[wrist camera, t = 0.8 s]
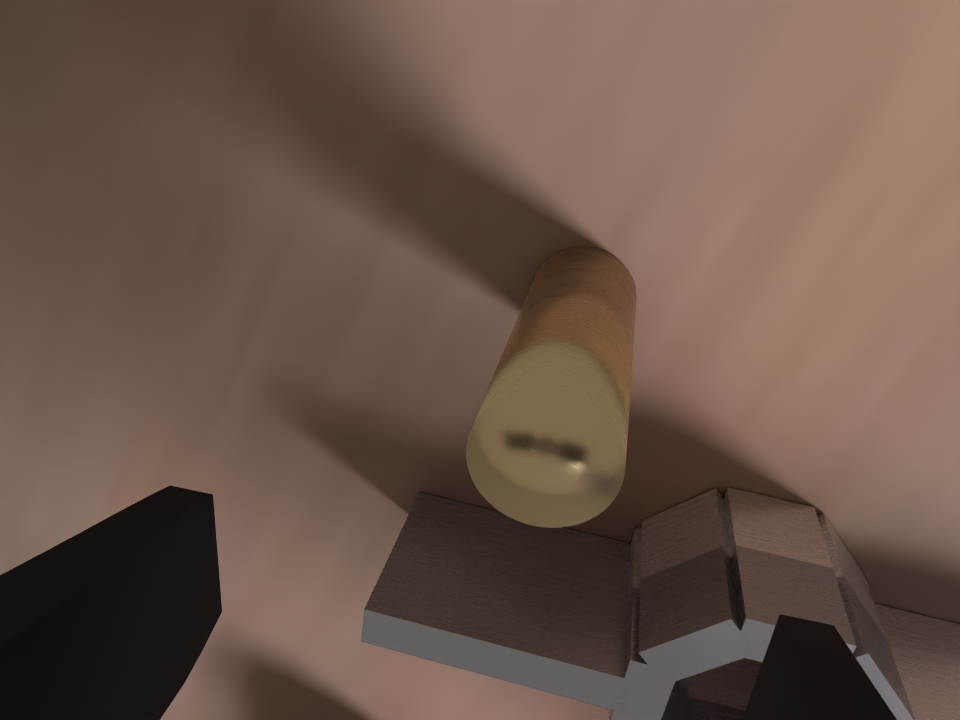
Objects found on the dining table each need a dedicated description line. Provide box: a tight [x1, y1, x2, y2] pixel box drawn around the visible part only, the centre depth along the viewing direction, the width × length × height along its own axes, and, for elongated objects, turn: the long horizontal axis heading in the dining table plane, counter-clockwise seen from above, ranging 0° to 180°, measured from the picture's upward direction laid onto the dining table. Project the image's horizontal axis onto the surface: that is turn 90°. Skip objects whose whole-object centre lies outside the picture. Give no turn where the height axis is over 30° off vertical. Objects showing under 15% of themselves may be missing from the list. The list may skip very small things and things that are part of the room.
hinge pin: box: [466, 247, 636, 528], centre depth 15 cm, size 2×2×7 cm
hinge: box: [361, 487, 960, 720], centre depth 18 cm, size 17×6×4 cm, turn 82°
